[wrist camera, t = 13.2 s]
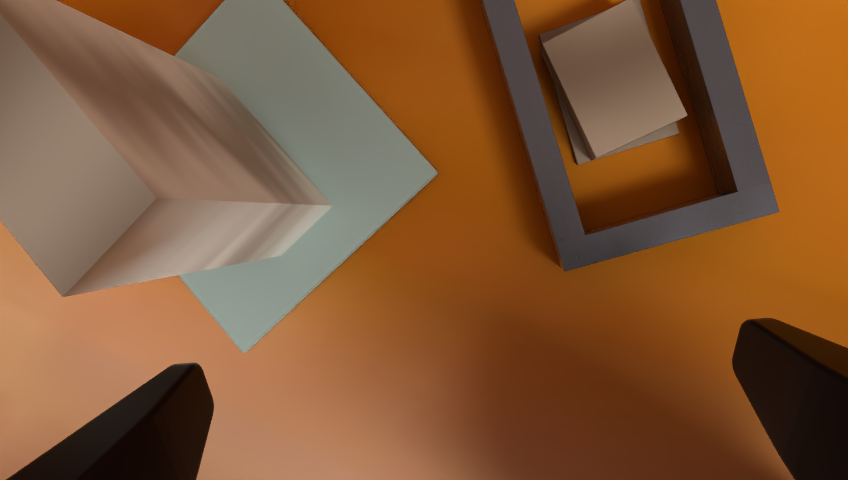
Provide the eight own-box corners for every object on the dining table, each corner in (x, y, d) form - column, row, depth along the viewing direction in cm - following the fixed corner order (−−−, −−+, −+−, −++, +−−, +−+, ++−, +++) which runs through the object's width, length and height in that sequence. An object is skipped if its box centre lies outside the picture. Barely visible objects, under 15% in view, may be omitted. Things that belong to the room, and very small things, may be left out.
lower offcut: (670, 137, 18) (679, 133, 17) (574, 166, 19) (578, 164, 18) (632, 9, 18) (639, -2, 17) (537, 43, 19) (539, 34, 18)
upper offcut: (677, 121, 17) (687, 115, 16) (591, 160, 18) (596, 157, 17) (624, 9, 18) (631, -3, 17) (540, 52, 18) (542, 43, 17)
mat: (438, 173, 19) (437, 172, 19) (248, 350, 21) (243, 353, 20) (258, -27, 20) (253, -32, 19) (88, 160, 22) (81, 159, 21)
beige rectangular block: (333, 205, 19) (156, 197, 10) (281, 255, 20) (62, 296, 10) (220, 78, 20) (-56, -54, 10) (172, 130, 20) (-137, 52, 11)
